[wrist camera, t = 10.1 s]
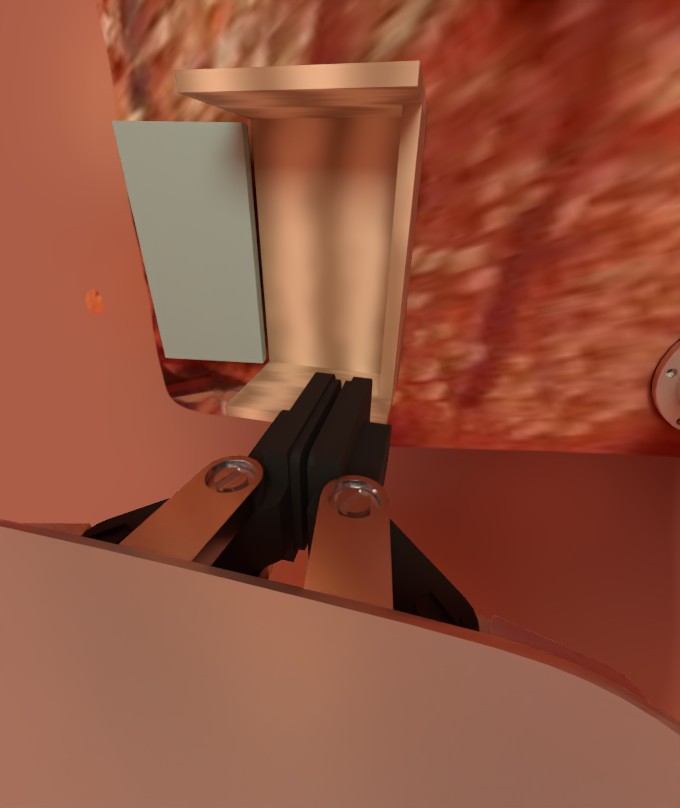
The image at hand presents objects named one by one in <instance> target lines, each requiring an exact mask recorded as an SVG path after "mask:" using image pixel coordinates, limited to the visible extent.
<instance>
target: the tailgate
mask: <svg viewBox="0 0 680 808" xmlns="http://www.w3.org/2000/svg"><path fill="white" fill-rule="evenodd" d="M112 123H113V128H114V132H115V137H116V141H117V145H118V150H119V154H120V159H121V163H122V168H123V172H124V176H125V181H126V185H127V190H128V194H129V198H130V203H131V207H132V212H133V216H134V220H135V225H136V229H137V234H138V238H139V242H140V247H141V251H142V256H143V260H144V265H145V269H146V273H147V278H148V282H149V287H150V291H151V295H152V300H153V304H154V309H155V313H156V317H157V322H158V326H159V331H160V335H161V340H162V344H163V348H164V353H165V357H166V358H179V359H196V360H214V361H231V362H249V363H263V362H264V361H265V359H266V358H267V357H266V345H265V332H264V320H263V308H262V296H261V284H260V272H259V260H258V248H257V236H256V224H255V212H254V199H253V187H252V175H251V163H250V151H249V139H248V127H247V125H246V124H244V123H242V122H167V121H112Z"/></svg>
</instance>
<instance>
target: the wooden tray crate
mask: <svg viewBox="0 0 680 808" xmlns="http://www.w3.org/2000/svg"><path fill="white" fill-rule="evenodd" d="M174 72H175V78H176V85H177V91H178V93H180V94H183V95H186V96H188V97H191V98H194V99H197V100H199V101H202V102H205V103H208V104H210V105H213V106H216V107H219V108H221V109H224V110H227V111H230V112H232V113H235V114H238V115H241V116H243V117H246V118H249V119H250V120H251V132H252V145H253V158H254V170H255V183H256V196H257V208H258V221H259V234H260V246H261V259H262V272H263V285H264V297H265V310H266V323H267V335H268V348H269V362H268V363H267V364H266V365H265V366H264V367H263V368H262V369H261V370H260V371H259V372H258V373H257V374H256V375H255V376H254V377H253V378H252V379H251V380H250V381H249V382H248V383H247V384H246V385H245V386H244V387H243V388H242V389H241V390H240V391H239V392H238V393H237V394H236V395H235V397H233V398H232V399H231V400H230V401H229V403H227V404H226V405H225V407H226V414H227V415H228V416H235V417H242V418H248V419H255V420H262V421H269V422H273V421H274V420H275V418H276V417H277V416H278V414H279V413H280V412H281V411H282V410H290V409H291V407H292V406H293V404H294V403H295V401H296V400H297V399H298V397H299V396H300V394H301V393H302V391H303V390H304V388H305V387H306V386H307V384H308V383H309V381H310V380H311V378H312V377H313V375H314V374H315V373H316V372H321V373H329V374H335V377H336V379H339V380H341V382H342V387H343V385H344V383H345V381H346V380H347V381H351V380H352V378H353V377H362V378H371V379H372V381H373V384H372V399H371V413H370V422H374V423H381V424H387V423H388V418H389V414H390V410H391V406H392V401H393V397H394V393H395V389H396V384H397V380H398V376H399V370H400V360H401V351H402V342H403V333H404V324H405V315H406V305H407V296H408V287H409V278H410V269H411V259H412V250H413V241H414V232H415V223H416V213H417V204H418V195H419V186H420V177H421V167H422V158H423V149H424V140H425V131H426V121H427V112H428V105H427V99H426V93H425V87H424V82H423V76H422V70H421V65H420V61H400V62H374V63H349V64H324V65H299V66H273V67H248V68H223V69H198V70H174Z"/></svg>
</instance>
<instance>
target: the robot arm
mask: <svg viewBox="0 0 680 808" xmlns="http://www.w3.org/2000/svg"><path fill="white" fill-rule="evenodd" d="M372 384H373V381H372V379H371V378H362V377H353V378H352V380H351V381H347V380H346V381H345V383H344V385H343V387H342V382H341V380H339V379H336V377H335V374H329V373H321V372H316V373H315V374H314V375H313V377H312V378H311V380H310V381H309V383H308V384H307V386H306V387H305V388H304V390H303V391H302V393H301V394H300V396H299V397H298V399H297V400H296V401H295V403H294V404H293V406H292V407H291V409H290V410H282V411H281V412H280V413H279V414H278V416H277V417H276V418H275V420H274V421H273V422H272V424H271V425H270V427H269V428H268V429H267V431H266V432H265V433H264V435H263V436H262V438H261V439H260V440H259V442H258V443H257V444H256V446H255V447H254V449H253V450H252V451H251V453H250V454H249V456H248V457H246V456H228V457H224V458H220V459H218V460H215V461H213V462H211V463H210V464H209V465H207V466H206V467H204V468H203V469H202V470H201V471H200V472H199V473H198V474H196V475H195V476H194V477H193V478H192V479H191V480H190V481H189V482H187V483H186V484H185V485H184V486H183V487H182V488H181V489H180V490H179V491H177V492H176V493H175V494H174V495H173V496H172V497H171V498H169V499H166V500H163V501H160V502H157V503H154V504H151V505H148V506H145V507H143V508H139V509H137V510H134V511H131V512H128V513H125V514H122V515H119V516H116V517H113V518H110V519H108V520H105V521H103V522H101V523H99V524H96V525H95V526H93V527H91V525H90V524H67V523H66V524H64V523H62V524H61V523H56V524H55V523H18V522H13V521H8V520H3V519H0V808H680V722H679V721H678V720H676V719H675V718H673V717H672V716H671V715H669V714H668V713H666V712H665V711H663V710H661V709H660V708H658V707H656V706H654V705H653V704H651V703H650V702H648V700H647V699H646V697H645V696H644V695H643V693H642V692H641V690H640V689H639V688H638V687H636V686H635V685H634V684H633V683H632V682H631V681H630V680H629V679H628V678H627V677H626V676H625V675H623V674H622V673H620V672H618V671H617V670H615V669H613V668H612V667H610V666H608V665H607V664H604V663H602V662H600V661H597V660H595V659H593V658H591V657H588V656H586V655H584V654H581V653H579V652H577V651H574V650H572V649H570V648H568V647H565V646H563V645H561V644H559V643H556V642H554V641H552V640H550V639H547V638H545V637H543V636H540V635H538V634H536V633H534V632H531V631H529V630H527V629H525V628H522V627H520V626H518V625H515V624H513V623H511V622H509V621H506V620H504V619H502V618H499V617H497V616H495V615H494V616H493V618H492V620H489V619H488V618H485V617H483V616H481V615H478V614H476V613H475V612H474V610H473V608H472V607H471V605H470V604H469V603H468V601H467V600H466V598H465V597H463V595H462V594H461V593H460V592H459V591H458V590H457V589H456V588H455V587H454V586H453V585H452V584H451V583H450V582H449V581H448V580H447V579H446V577H445V576H444V575H443V574H442V573H441V572H440V571H439V570H438V569H437V568H436V567H435V566H434V565H433V564H432V563H431V562H430V560H429V559H428V558H427V557H426V556H425V555H424V554H423V553H422V552H421V551H420V550H419V549H418V548H417V547H416V546H415V545H414V544H413V543H412V542H411V540H410V539H409V538H408V537H407V536H406V535H405V534H404V533H403V532H402V531H401V530H400V529H399V528H398V527H397V526H396V525H395V524H394V522H393V521H391V519H390V518H389V499H388V496H387V492H386V491H385V490H384V488H383V485H384V480H385V475H386V468H387V462H388V455H389V447H390V437H391V425H388V424H381V423H374V422H370V413H371V399H372ZM652 397H653V401H654V404H655V406H656V408H657V410H658V411H659V413H660V414H661V415H662V416H663V417H664V418H665V420H666V421H667V422H669V423H670V424H671V425H672V426H673V427H675V428H677V429H679V430H680V340H679V341H678V342H677V343H676V344H675V345H674V346H673V347H672V348H671V349H670V350H669V351H668V353H667V354H666V355H665V356H664V358H663V359H662V360H661V362H660V364H659V366H658V368H657V370H656V372H655V375H654V378H653V382H652ZM307 544H308V554H309V562H308V568H307V573H306V579H305V584H304V588H300V587H297V586H292V585H288V584H284V583H280V582H275V581H271V580H268V579H269V577H270V575H271V573H272V568H273V563H276V562H278V561H280V560H282V559H283V560H287V561H291V562H294V559H295V557H296V554H297V552H298V550H299V549H300V550H305V549H306V547H307Z"/></svg>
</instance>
